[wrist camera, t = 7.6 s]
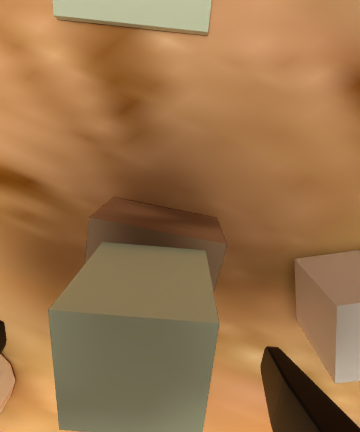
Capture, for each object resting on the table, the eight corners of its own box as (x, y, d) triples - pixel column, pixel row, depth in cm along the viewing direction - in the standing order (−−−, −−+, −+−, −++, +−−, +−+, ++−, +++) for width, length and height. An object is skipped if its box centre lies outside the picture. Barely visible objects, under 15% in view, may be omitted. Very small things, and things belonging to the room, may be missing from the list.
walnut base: (216, 216, 15) (227, 244, 11) (194, 301, 16) (197, 352, 12) (114, 196, 14) (88, 217, 10) (103, 285, 16) (78, 330, 12)
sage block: (205, 250, 11) (219, 323, 7) (195, 334, 12) (201, 440, 8) (102, 241, 11) (48, 309, 7) (103, 326, 12) (59, 429, 8)
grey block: (371, 247, 15) (446, 292, 10) (366, 310, 16) (432, 373, 12) (293, 258, 15) (336, 305, 11) (295, 319, 16) (335, 383, 12)
